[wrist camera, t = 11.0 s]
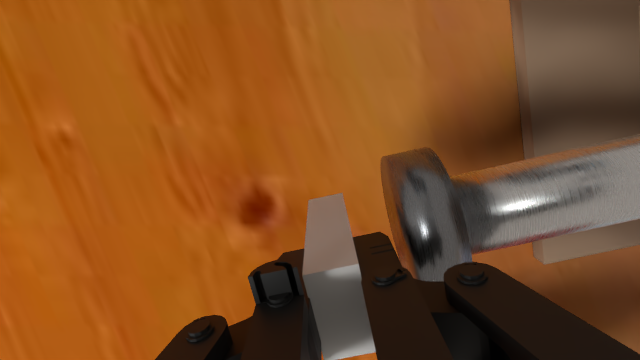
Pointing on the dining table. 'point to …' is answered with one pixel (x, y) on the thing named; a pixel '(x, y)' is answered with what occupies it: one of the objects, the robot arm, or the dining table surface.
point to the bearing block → (577, 93)
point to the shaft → (504, 201)
